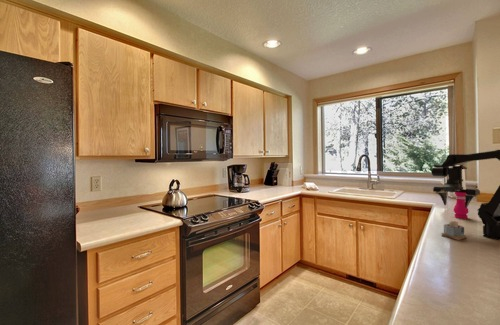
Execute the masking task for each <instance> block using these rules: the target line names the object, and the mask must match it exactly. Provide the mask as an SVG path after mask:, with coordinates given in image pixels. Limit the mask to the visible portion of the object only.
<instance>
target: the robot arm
mask: <svg viewBox="0 0 500 325" xmlns="http://www.w3.org/2000/svg"><path fill="white" fill-rule="evenodd" d="M493 159H495V160H496V159H497V160H498V161H500V149H495V150H490V151H482V152H475V153H468V154H467V153H466V154H465V153H464V154H463V153H460V154H459V153H458V154H457V153H456V154H452V153H450V154H448V155H447V156H446V158H445V160H444V161H443V163H442V164H434V165H433V167H432V170H431V175H432V176H433V177H437V178H439V177H440V178H448V179H446V183H444V184H443V185H436V186H433V188H432V191H433V192H434V193H435V194H438V195H439V197H440V199H441V200H442V202H443V205H444V206H446V205H447V203H448V202H447V200H448V198H447V197H448V196H447V193H455V192H460V193H466V194H467V195H465V198H466V199H465V208H468V206H470V203H471V201H472V199H473V198H474V197H477V196H479V195H481V191H480V189H479V188H466V189H464V186H463V182H464V179H463V170H467V169H468V167H466V166H465V165H464V164H467V163H470V162H476V161H483V160H484V161H485V160H493ZM476 211H477V215H478V217H479V219H480V220H481V223H482V224H483V225H482V234H483V235H482V236H483V237H485V238H490V239H495V240H499V241H500V184H499V186H497V189H496V191H495V192H494V194H493V195H492V197H491V199H490V200H489V201H488V202H484V203H483V202H482V203H480V206H479V208H478V209H477V210H476Z"/></svg>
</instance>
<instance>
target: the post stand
mask: <svg viewBox="0 0 500 325" xmlns="http://www.w3.org/2000/svg"><path fill="white" fill-rule="evenodd" d="M448 224H449V226H450V227H458V225H459V223H458V221H455V220H454V221H453V220H449V223H448ZM441 237H445V238H449V239H454V240H457V241H460V240H463V239H465V238H467V235H466V234H464V236H462V237H458V236H451V235H446V234H445V233H444V232H443V233H441Z"/></svg>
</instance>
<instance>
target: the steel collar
mask: <svg viewBox="0 0 500 325" xmlns="http://www.w3.org/2000/svg"><path fill="white" fill-rule="evenodd" d="M443 233H445V234H446V235H451V236H458V237H462V236H464V235H465V227H464V226H462V225H459V224H458V227H450V226H449V223H445V224H443Z"/></svg>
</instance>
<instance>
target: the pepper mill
mask: <svg viewBox="0 0 500 325" xmlns="http://www.w3.org/2000/svg"><path fill="white" fill-rule="evenodd" d="M454 195H455V199H456V203H455V205H454V207H453V212H454V218H456V219H463V220H464V219H468V218H469V216H468V214H469V208H468V207H467V208H465V199H466V198H465V195H467V194H466V193H460V192H454Z"/></svg>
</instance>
